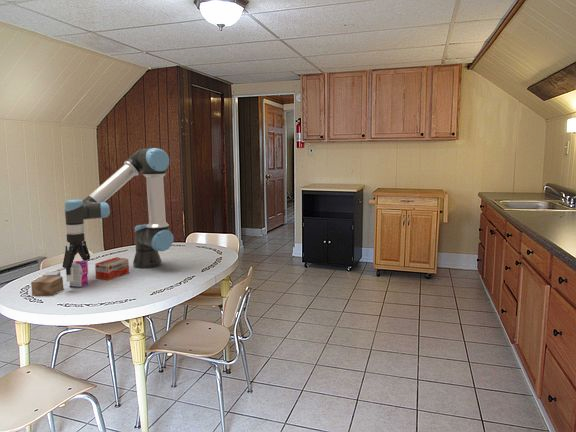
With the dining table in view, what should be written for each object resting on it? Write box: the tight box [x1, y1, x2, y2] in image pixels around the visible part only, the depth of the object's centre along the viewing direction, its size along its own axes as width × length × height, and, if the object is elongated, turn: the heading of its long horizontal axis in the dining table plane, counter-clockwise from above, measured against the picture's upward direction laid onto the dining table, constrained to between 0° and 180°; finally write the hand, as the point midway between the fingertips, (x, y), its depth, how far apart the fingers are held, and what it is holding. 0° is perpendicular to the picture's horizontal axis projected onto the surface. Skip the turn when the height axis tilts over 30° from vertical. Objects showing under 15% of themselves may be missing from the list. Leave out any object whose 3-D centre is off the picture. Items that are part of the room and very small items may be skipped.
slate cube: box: [42, 271, 62, 277], centre depth 206 cm, size 6×6×6 cm
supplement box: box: [69, 260, 89, 289], centre depth 205 cm, size 6×6×12 cm
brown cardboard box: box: [30, 275, 64, 296], centre depth 196 cm, size 9×9×6 cm
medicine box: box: [94, 256, 130, 281], centre depth 222 cm, size 15×8×8 cm, turn 158°
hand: (77, 277), depth 205 cm, fingers open, 13 cm apart
